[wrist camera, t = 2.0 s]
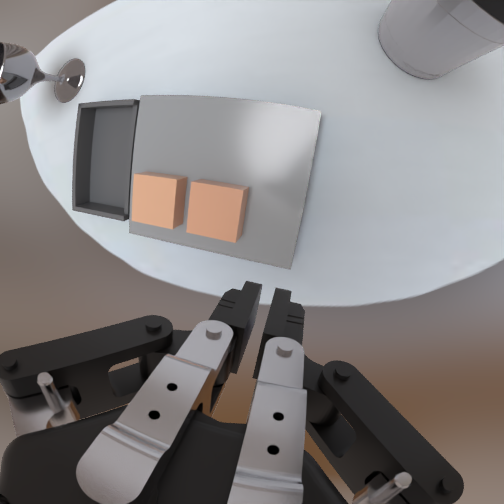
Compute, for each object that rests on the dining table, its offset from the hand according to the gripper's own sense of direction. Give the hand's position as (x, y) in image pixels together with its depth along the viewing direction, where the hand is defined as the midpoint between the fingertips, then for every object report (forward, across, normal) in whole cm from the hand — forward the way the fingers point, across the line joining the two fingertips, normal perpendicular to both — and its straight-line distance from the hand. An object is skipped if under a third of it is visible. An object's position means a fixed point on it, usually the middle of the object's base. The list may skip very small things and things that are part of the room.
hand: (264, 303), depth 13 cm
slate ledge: (+19, +8, -3) cm, 21 cm away
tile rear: (+16, +14, 0) cm, 21 cm away
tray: (+19, +23, -4) cm, 30 cm away
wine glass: (+19, +34, -15) cm, 42 cm away
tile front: (+16, +7, 0) cm, 17 cm away
